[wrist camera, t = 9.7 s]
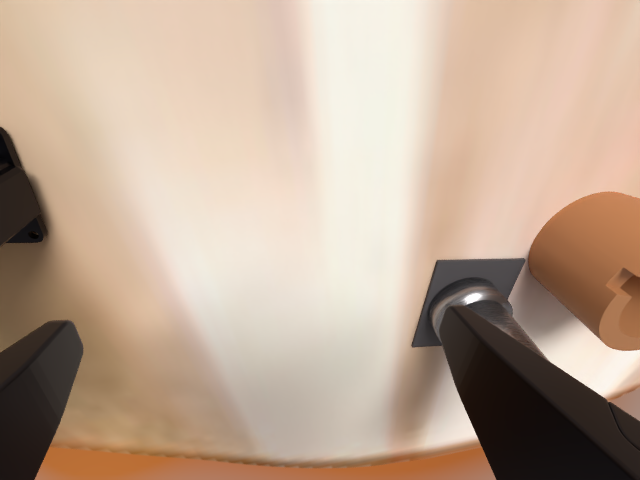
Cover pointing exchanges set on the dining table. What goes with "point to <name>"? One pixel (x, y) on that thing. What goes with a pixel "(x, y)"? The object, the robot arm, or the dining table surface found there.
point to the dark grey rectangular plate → (450, 271)
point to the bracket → (595, 265)
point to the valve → (479, 307)
